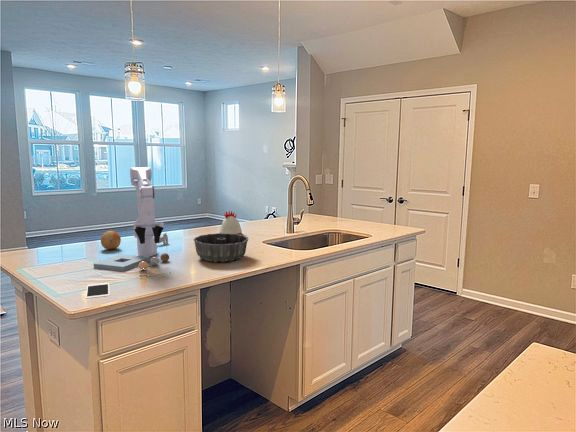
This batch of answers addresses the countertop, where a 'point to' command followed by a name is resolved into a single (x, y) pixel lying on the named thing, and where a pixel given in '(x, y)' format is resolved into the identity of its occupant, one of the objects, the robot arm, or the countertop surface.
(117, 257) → the hole plate
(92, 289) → the cell phone
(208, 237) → the bundt pan
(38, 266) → the countertop surface
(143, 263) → the terracotta ball
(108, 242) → the onion
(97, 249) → the countertop surface
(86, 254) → the countertop surface
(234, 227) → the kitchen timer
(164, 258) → the walnut ball
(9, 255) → the countertop surface
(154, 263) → the steel ball
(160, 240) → the caliper
